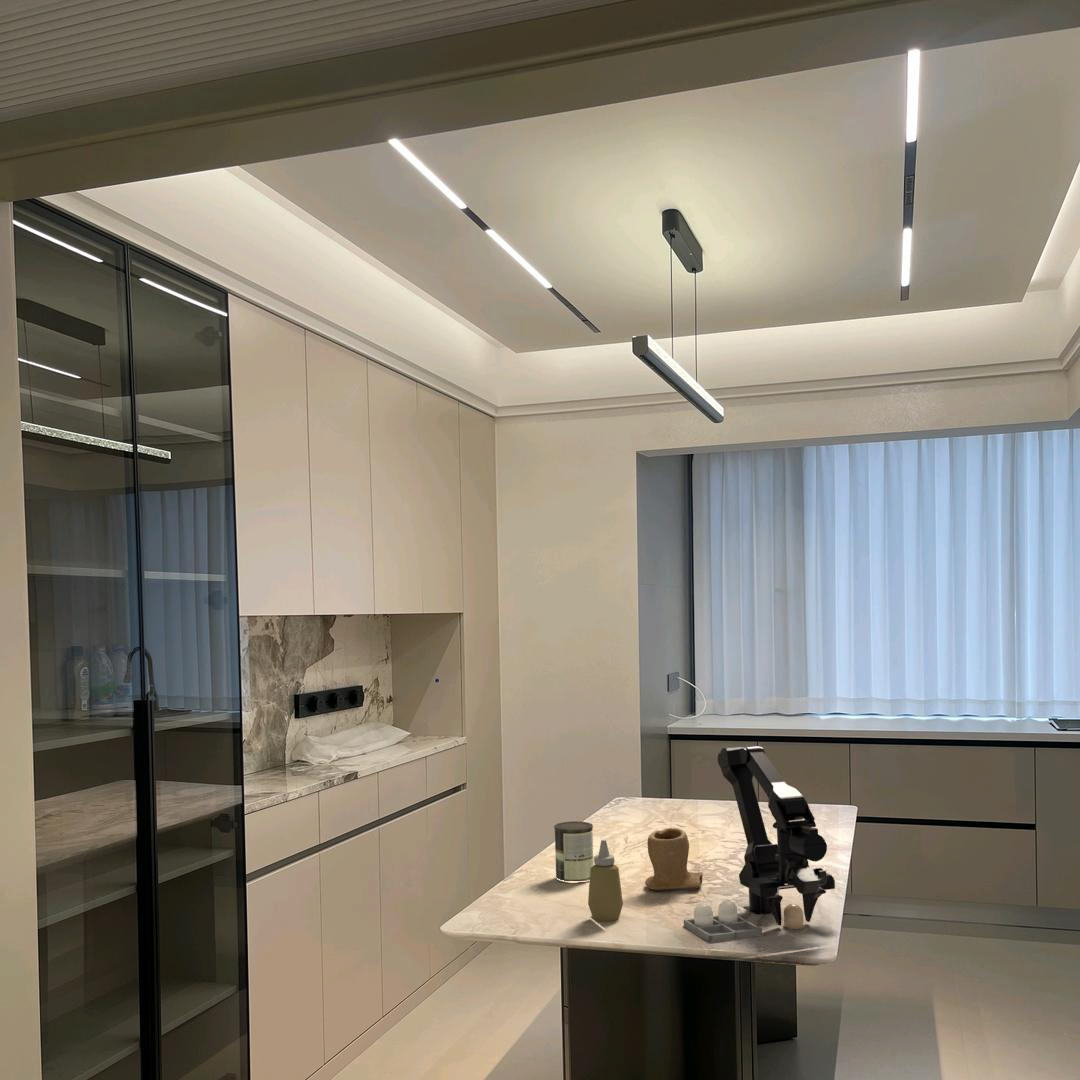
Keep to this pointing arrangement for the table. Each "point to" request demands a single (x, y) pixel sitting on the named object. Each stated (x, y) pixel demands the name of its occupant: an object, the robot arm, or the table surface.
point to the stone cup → (671, 861)
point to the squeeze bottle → (605, 887)
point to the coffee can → (573, 850)
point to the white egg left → (727, 912)
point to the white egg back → (703, 915)
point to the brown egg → (793, 917)
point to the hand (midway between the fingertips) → (793, 923)
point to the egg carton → (724, 930)
